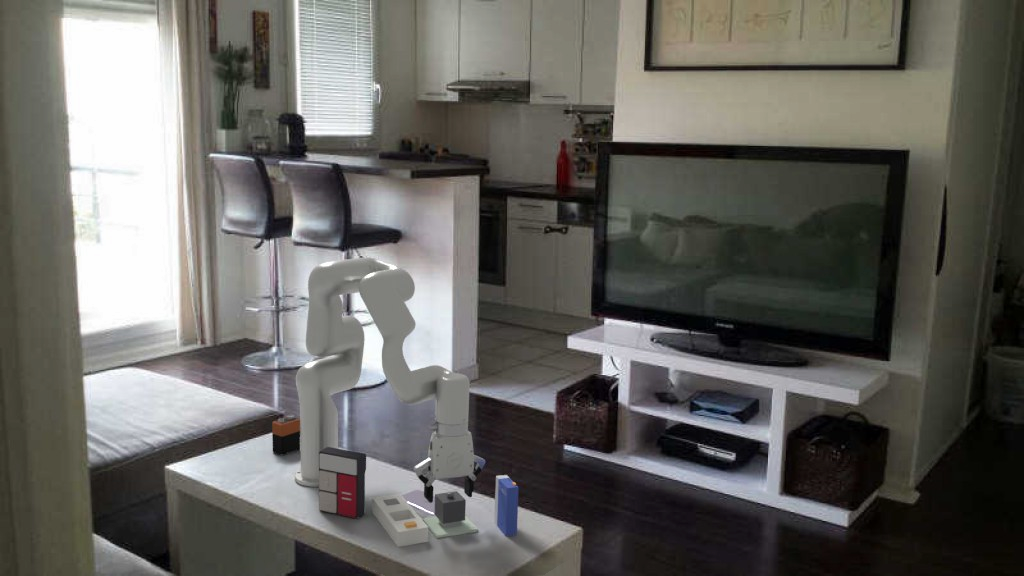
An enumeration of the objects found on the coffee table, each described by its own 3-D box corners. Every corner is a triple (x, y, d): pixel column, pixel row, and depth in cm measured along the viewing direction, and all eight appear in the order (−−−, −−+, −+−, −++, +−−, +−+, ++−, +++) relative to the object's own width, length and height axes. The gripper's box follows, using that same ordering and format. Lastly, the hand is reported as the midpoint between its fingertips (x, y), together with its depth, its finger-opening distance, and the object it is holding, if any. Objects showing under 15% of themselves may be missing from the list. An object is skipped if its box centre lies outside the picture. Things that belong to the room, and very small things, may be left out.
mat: (422, 520, 215) (422, 518, 215) (461, 514, 219) (461, 512, 219) (436, 538, 206) (437, 535, 206) (477, 531, 210) (477, 528, 210)
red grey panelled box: (316, 511, 218) (316, 452, 215) (326, 505, 222) (326, 446, 219) (356, 520, 214) (357, 459, 211) (366, 513, 218) (366, 453, 215)
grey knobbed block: (434, 520, 214) (435, 490, 212) (456, 517, 216) (457, 487, 215) (442, 530, 209) (443, 499, 208) (464, 526, 211) (465, 495, 210)
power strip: (372, 511, 219) (372, 495, 218) (400, 507, 222) (400, 491, 221) (397, 546, 201) (398, 529, 200) (427, 541, 204) (428, 524, 203)
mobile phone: (417, 488, 232) (458, 505, 222) (417, 491, 233) (458, 509, 223) (394, 496, 227) (435, 514, 217) (394, 499, 227) (435, 518, 217)
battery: (301, 449, 259) (300, 415, 257) (282, 456, 253) (281, 421, 251) (290, 446, 261) (290, 412, 259) (271, 452, 256) (271, 418, 254)
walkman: (517, 535, 209) (518, 485, 207) (505, 536, 208) (507, 486, 206) (505, 521, 216) (506, 473, 214) (494, 522, 215) (495, 474, 213)
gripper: (420, 436, 201) (418, 509, 205) (492, 429, 209) (489, 499, 212) (410, 425, 208) (408, 496, 211) (479, 418, 215) (477, 486, 219)
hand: (448, 497), depth 212 cm, fingers open, 9 cm apart
